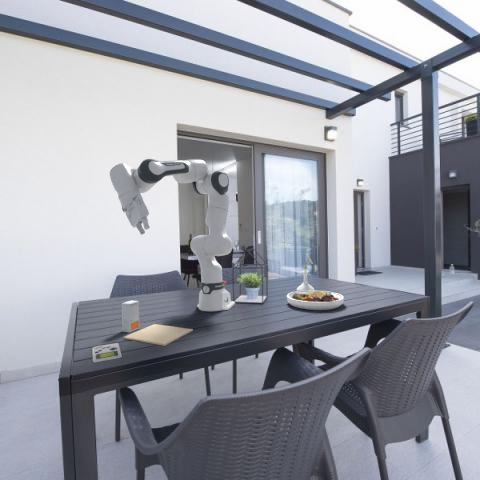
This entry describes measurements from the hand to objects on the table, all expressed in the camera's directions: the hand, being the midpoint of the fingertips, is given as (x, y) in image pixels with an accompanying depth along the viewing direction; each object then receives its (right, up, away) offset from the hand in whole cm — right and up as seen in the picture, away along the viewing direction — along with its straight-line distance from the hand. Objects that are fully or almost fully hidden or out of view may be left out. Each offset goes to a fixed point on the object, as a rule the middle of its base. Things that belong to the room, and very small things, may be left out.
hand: (145, 231), depth 132 cm
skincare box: (-6, -42, +1) cm, 42 cm away
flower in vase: (+82, -38, +72) cm, 115 cm away
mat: (+7, -42, -6) cm, 43 cm away
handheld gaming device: (-7, -43, -23) cm, 49 cm away
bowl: (+81, -39, +39) cm, 98 cm away
